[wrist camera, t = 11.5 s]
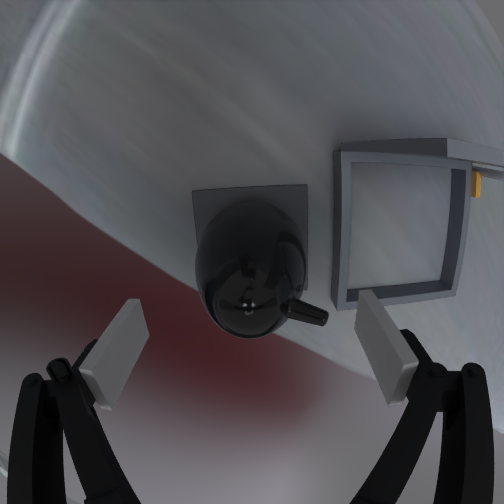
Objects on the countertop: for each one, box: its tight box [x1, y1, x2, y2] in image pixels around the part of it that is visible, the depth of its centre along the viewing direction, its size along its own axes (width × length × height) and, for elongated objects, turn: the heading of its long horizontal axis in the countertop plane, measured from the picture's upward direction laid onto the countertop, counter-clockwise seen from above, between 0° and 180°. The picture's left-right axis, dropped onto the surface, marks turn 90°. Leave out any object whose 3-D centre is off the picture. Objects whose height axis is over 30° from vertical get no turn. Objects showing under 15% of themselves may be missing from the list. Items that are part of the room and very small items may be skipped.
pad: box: [192, 185, 308, 290], centre depth 32 cm, size 12×12×1 cm
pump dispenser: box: [195, 201, 329, 339], centre depth 24 cm, size 10×10×15 cm
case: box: [331, 138, 504, 311], centre depth 21 cm, size 18×18×20 cm
